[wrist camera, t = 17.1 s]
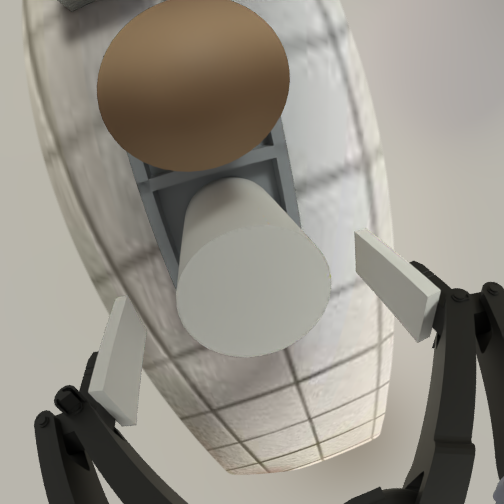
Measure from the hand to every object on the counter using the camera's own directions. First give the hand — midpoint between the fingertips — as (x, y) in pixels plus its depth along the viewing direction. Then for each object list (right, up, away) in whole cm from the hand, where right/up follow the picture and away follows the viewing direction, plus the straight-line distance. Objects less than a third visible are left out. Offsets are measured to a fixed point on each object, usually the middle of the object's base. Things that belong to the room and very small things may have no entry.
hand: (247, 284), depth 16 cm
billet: (-4, +14, +5) cm, 15 cm away
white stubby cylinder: (-2, +4, +10) cm, 11 cm away
